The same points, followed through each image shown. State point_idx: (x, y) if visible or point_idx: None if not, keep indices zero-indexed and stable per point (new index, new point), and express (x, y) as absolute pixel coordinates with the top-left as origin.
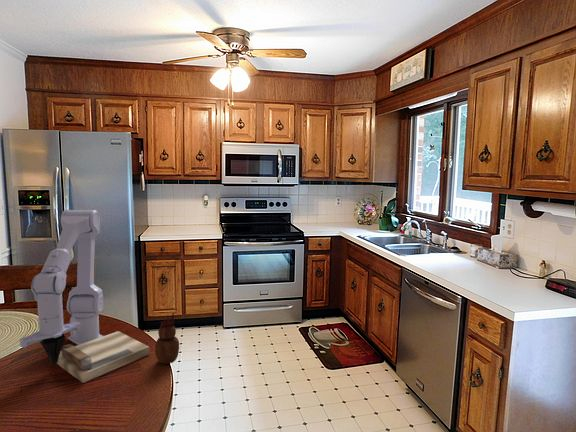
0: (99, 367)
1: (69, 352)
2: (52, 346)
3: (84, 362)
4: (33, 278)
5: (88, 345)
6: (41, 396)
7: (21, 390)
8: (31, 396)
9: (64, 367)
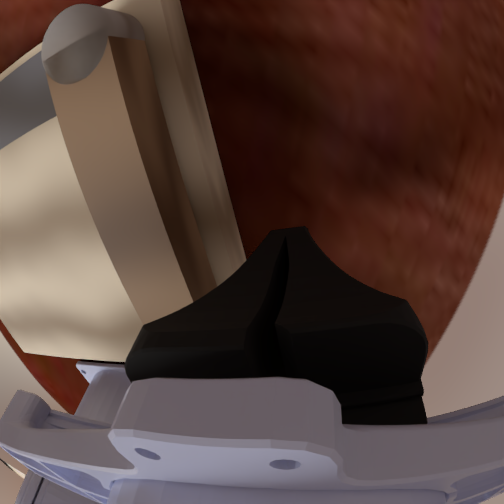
0: None
1: (171, 248)
2: (319, 302)
3: (96, 7)
4: None
5: (103, 331)
6: (403, 5)
7: (462, 151)
8: (442, 47)
9: (234, 226)
